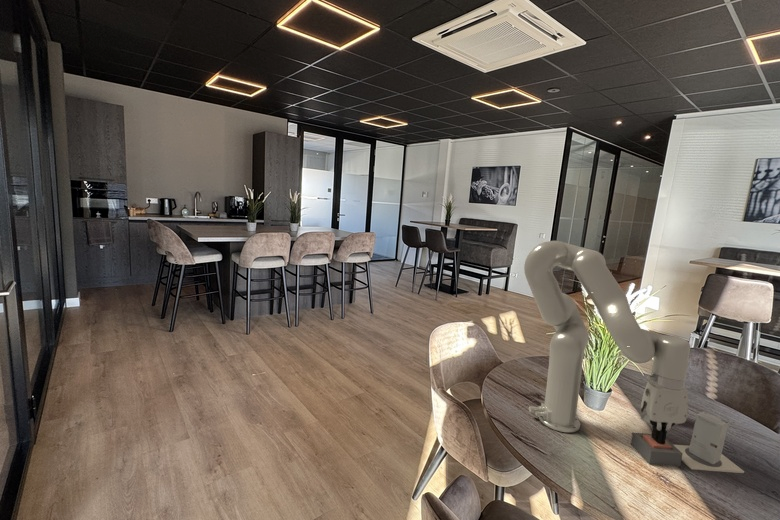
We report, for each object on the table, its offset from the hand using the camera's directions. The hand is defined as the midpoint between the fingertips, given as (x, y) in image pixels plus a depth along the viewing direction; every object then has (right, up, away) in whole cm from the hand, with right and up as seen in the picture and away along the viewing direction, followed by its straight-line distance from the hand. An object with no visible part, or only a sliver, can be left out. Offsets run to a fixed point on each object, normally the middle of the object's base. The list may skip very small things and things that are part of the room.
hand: (657, 440), depth 103 cm
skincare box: (+14, -5, 0) cm, 14 cm away
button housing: (0, -5, +1) cm, 5 cm away
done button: (0, -3, +1) cm, 3 cm away
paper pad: (+13, -5, 0) cm, 14 cm away
